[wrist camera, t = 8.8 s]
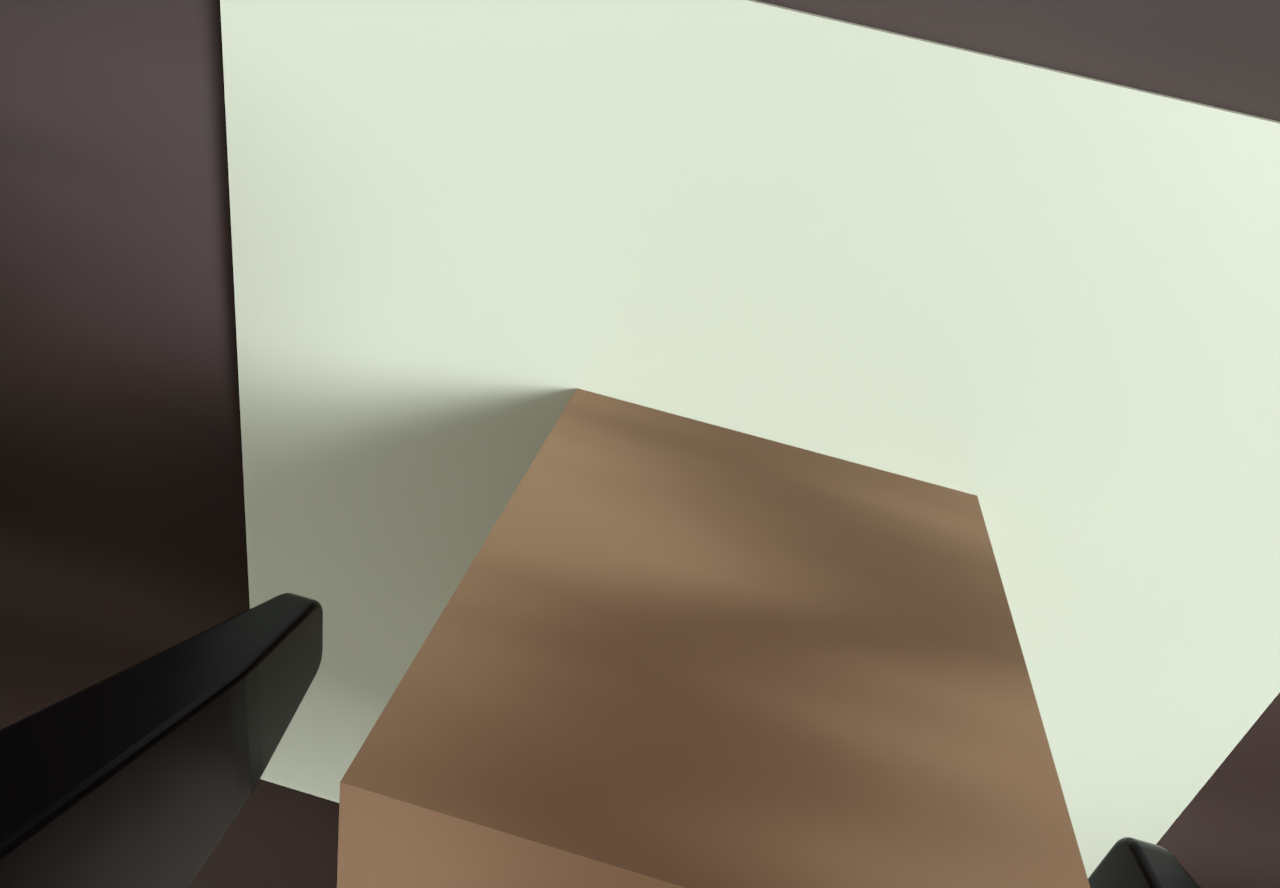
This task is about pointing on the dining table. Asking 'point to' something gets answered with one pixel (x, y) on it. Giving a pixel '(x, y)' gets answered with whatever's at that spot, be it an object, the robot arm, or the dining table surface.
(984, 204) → the sage pad
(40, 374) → the dining table surface
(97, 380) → the dining table surface
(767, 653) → the walnut block
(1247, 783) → the dining table surface
